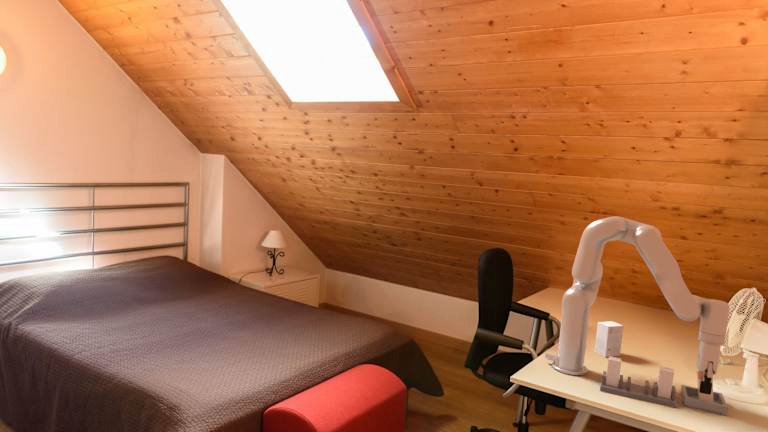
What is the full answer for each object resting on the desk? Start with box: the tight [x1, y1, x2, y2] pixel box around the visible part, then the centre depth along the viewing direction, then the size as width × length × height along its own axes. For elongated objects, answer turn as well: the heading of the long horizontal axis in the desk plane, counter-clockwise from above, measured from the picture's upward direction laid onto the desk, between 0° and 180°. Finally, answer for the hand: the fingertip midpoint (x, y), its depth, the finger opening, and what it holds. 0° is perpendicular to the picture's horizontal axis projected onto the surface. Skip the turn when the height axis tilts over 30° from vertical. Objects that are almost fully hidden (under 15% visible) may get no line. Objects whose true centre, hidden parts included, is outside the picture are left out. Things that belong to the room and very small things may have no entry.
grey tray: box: [680, 384, 728, 416], centre depth 180 cm, size 12×12×3 cm
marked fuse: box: [696, 370, 714, 403], centre depth 180 cm, size 4×4×9 cm
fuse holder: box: [599, 356, 677, 408], centre depth 184 cm, size 23×10×10 cm, turn 65°
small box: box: [594, 320, 624, 358], centre depth 223 cm, size 8×6×13 cm
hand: (704, 390), depth 180 cm, fingers closed on marked fuse, 3 cm apart
